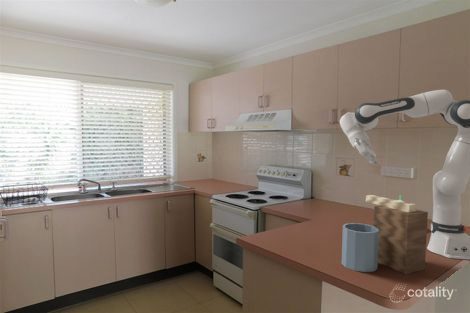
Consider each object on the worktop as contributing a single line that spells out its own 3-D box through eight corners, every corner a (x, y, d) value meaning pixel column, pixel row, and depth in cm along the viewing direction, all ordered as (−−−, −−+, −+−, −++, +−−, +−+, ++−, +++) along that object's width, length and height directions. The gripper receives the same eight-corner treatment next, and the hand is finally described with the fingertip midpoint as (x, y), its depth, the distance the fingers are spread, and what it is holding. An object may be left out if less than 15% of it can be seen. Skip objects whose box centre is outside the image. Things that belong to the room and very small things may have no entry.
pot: (375, 261, 135) (377, 225, 134) (378, 274, 122) (380, 234, 121) (341, 256, 140) (343, 221, 139) (341, 268, 127) (342, 230, 126)
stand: (372, 259, 137) (374, 206, 135) (391, 255, 142) (393, 204, 140) (405, 274, 122) (408, 214, 121) (424, 269, 127) (427, 212, 126)
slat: (365, 201, 145) (365, 195, 144) (371, 201, 146) (372, 194, 146) (408, 212, 125) (409, 205, 124) (415, 211, 126) (415, 204, 126)
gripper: (360, 133, 148) (375, 158, 142) (370, 141, 164) (384, 163, 159) (348, 140, 151) (363, 165, 145) (359, 147, 167) (373, 169, 161)
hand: (374, 164), depth 152 cm, fingers open, 8 cm apart
